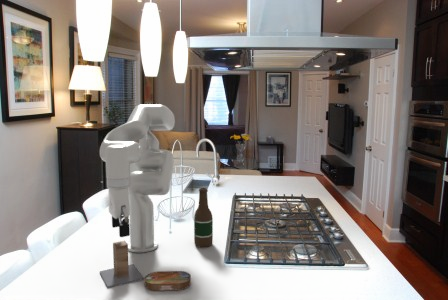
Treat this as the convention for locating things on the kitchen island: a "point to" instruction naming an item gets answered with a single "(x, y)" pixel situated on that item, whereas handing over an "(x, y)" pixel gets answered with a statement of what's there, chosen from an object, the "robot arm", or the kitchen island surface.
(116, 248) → the walnut block
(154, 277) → the tin
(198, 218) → the beer bottle
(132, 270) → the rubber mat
